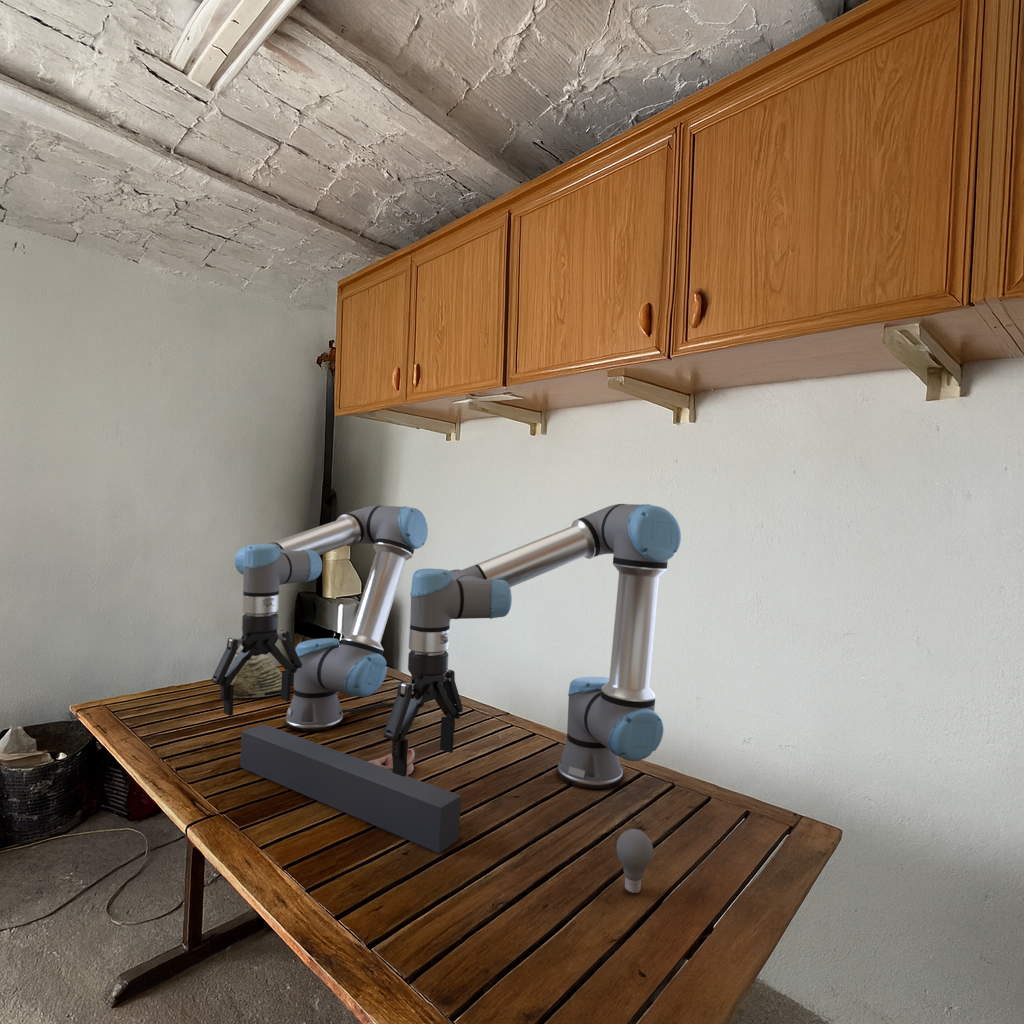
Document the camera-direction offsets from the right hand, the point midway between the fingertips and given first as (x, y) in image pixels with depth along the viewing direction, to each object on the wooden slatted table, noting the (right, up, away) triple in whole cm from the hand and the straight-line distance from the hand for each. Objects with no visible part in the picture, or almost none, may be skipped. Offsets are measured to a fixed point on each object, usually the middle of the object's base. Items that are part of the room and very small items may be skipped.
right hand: (424, 762), depth 120 cm
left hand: (-41, +4, +23) cm, 47 cm away
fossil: (-64, -10, +78) cm, 101 cm away
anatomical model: (-13, -13, +27) cm, 33 cm away
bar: (-20, -13, +12) cm, 27 cm away
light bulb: (+37, -16, -15) cm, 43 cm away
